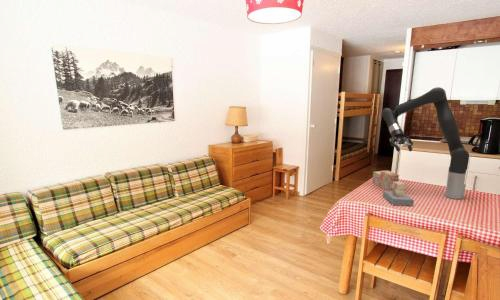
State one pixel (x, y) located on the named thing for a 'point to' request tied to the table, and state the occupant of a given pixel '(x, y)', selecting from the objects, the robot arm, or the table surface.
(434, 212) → the table surface
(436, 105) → the robot arm
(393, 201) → the slate plinth
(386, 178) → the stack of blocks
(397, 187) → the birch block
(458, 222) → the table surface
